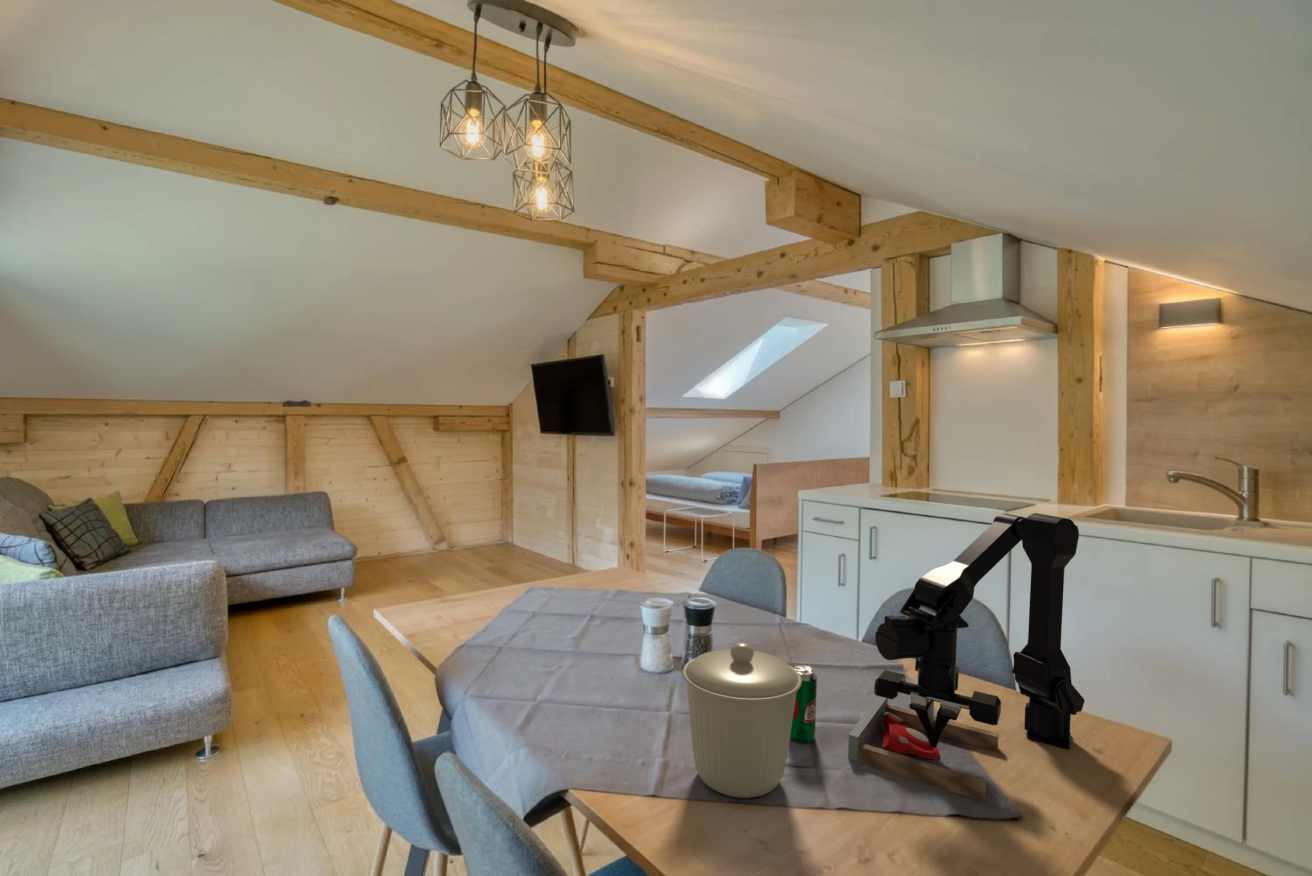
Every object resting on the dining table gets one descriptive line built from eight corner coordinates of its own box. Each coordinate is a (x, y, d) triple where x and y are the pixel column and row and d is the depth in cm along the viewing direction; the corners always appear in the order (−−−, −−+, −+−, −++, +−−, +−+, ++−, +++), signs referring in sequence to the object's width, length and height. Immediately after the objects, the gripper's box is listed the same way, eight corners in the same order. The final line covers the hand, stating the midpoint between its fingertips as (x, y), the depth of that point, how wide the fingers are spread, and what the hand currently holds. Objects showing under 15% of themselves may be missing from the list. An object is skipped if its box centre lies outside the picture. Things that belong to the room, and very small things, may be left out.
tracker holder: (951, 747, 107) (922, 750, 101) (941, 770, 107) (911, 775, 101) (891, 703, 116) (860, 705, 110) (882, 725, 117) (851, 727, 111)
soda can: (809, 747, 107) (811, 677, 107) (781, 738, 110) (783, 670, 109) (819, 735, 111) (821, 668, 111) (791, 727, 114) (793, 661, 114)
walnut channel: (998, 747, 108) (998, 733, 108) (983, 801, 93) (984, 785, 93) (887, 717, 119) (887, 704, 119) (857, 761, 103) (857, 746, 103)
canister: (663, 797, 92) (667, 654, 91) (698, 739, 109) (701, 618, 108) (789, 827, 86) (793, 674, 85) (805, 761, 103) (809, 633, 102)
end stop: (887, 717, 119) (887, 696, 119) (857, 761, 103) (858, 737, 103) (878, 714, 120) (879, 694, 119) (848, 758, 104) (848, 734, 104)
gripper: (1005, 652, 106) (1002, 743, 107) (891, 629, 117) (888, 712, 117) (998, 673, 97) (995, 773, 97) (874, 646, 107) (871, 737, 108)
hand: (934, 746), depth 105 cm, fingers closed
